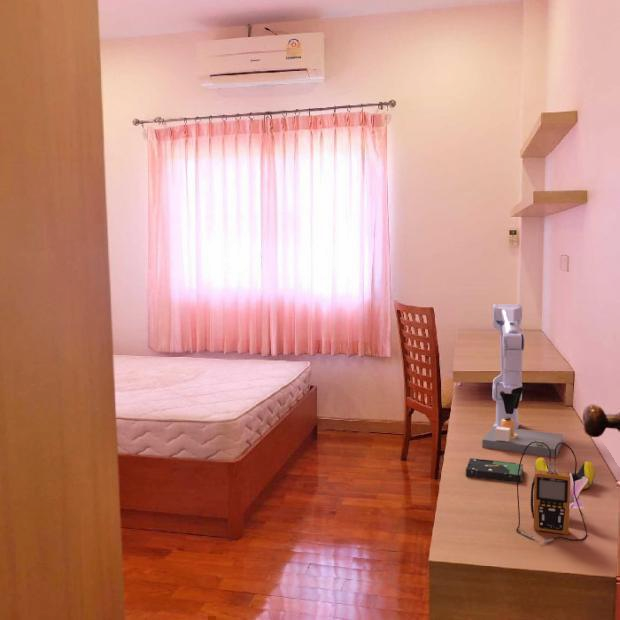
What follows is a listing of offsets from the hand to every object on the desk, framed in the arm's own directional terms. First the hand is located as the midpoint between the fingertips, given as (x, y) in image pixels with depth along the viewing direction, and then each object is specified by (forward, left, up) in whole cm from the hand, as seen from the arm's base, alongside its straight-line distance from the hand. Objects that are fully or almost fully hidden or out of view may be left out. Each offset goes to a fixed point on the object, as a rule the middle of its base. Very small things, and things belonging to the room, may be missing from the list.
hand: (511, 411), depth 200 cm
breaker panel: (+1, +4, -10) cm, 11 cm away
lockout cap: (+2, -1, -8) cm, 8 cm away
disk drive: (+33, +2, -11) cm, 34 cm away
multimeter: (+67, +21, -11) cm, 71 cm away
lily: (+53, +23, -11) cm, 59 cm away
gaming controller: (+31, +20, -11) cm, 39 cm away
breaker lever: (+8, -1, -8) cm, 12 cm away
